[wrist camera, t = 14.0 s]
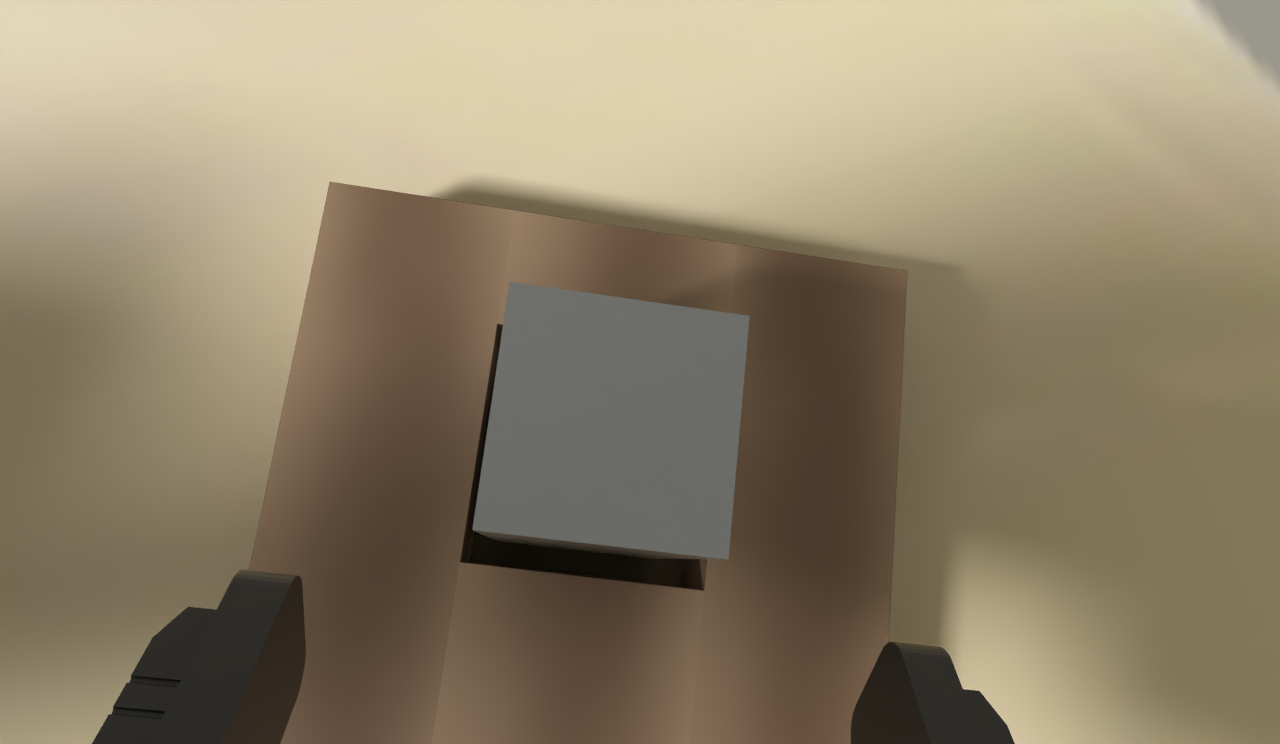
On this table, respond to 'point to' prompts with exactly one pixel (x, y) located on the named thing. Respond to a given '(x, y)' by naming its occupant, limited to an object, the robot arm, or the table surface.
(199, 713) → the robot arm
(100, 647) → the table surface
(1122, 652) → the table surface
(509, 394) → the square bit
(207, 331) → the table surface
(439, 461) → the plate
